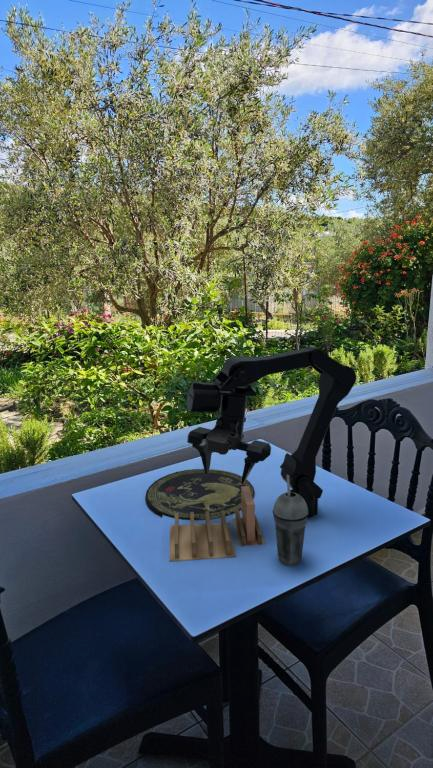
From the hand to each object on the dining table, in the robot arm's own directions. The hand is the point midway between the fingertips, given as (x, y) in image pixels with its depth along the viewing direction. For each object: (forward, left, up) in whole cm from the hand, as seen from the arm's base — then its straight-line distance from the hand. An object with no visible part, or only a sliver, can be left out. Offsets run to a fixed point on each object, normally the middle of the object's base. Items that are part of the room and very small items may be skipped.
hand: (224, 478), depth 109 cm
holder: (-5, +3, -13) cm, 14 cm away
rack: (+6, +6, -13) cm, 15 cm away
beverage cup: (-12, +15, -13) cm, 23 cm away
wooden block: (-5, +3, -12) cm, 13 cm away
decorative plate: (+5, -18, -13) cm, 23 cm away
